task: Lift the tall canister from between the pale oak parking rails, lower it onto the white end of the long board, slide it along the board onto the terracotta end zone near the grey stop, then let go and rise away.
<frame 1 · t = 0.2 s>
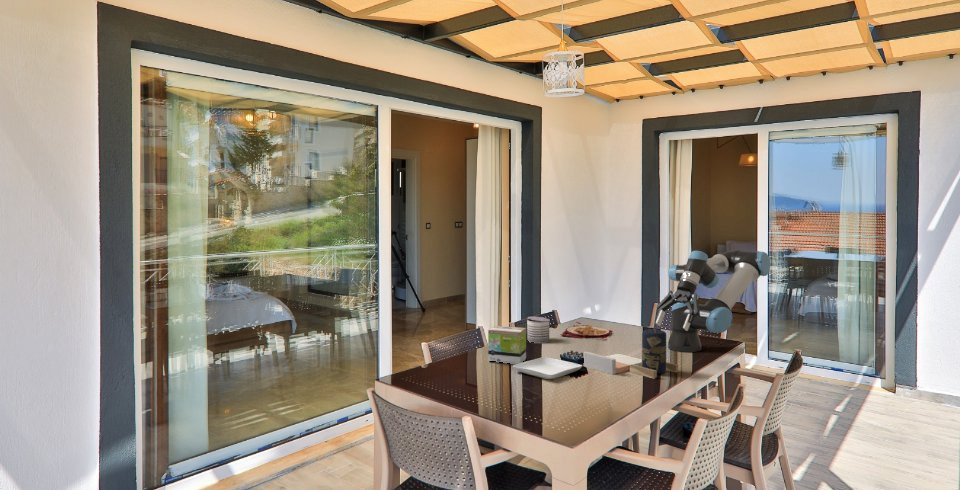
hand: (671, 326, 244), 16 cm above the table, tool tilted 35°, fingers open, 13 cm apart
plate with food: (589, 335, 309), on the table
canister: (653, 372, 234), on the table
parking rails: (653, 371, 234), on the table
tea box: (507, 361, 254), on the table
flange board: (615, 365, 244), on the table
salad plate: (547, 373, 236), on the table
can: (538, 341, 293), on the table
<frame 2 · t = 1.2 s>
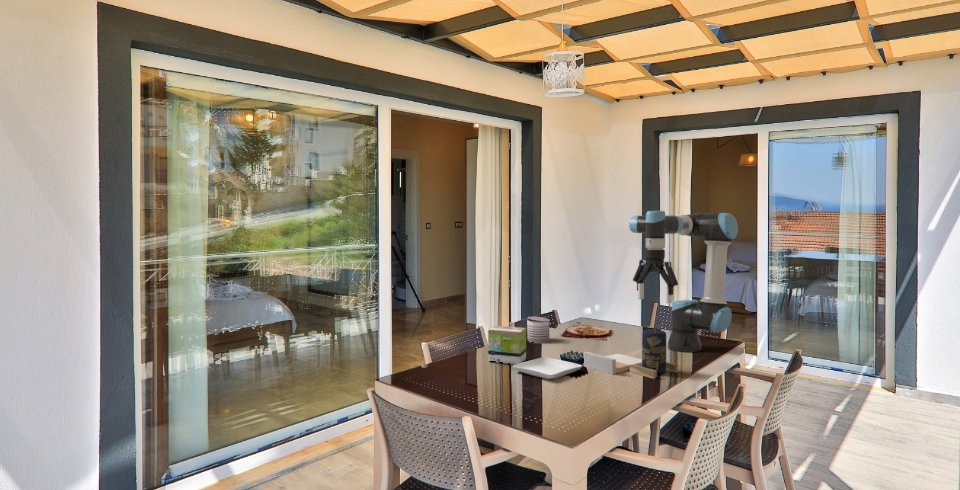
hand: (654, 301, 233), 29 cm above the table, tool pointing down, fingers open, 13 cm apart
nothing on the table moved.
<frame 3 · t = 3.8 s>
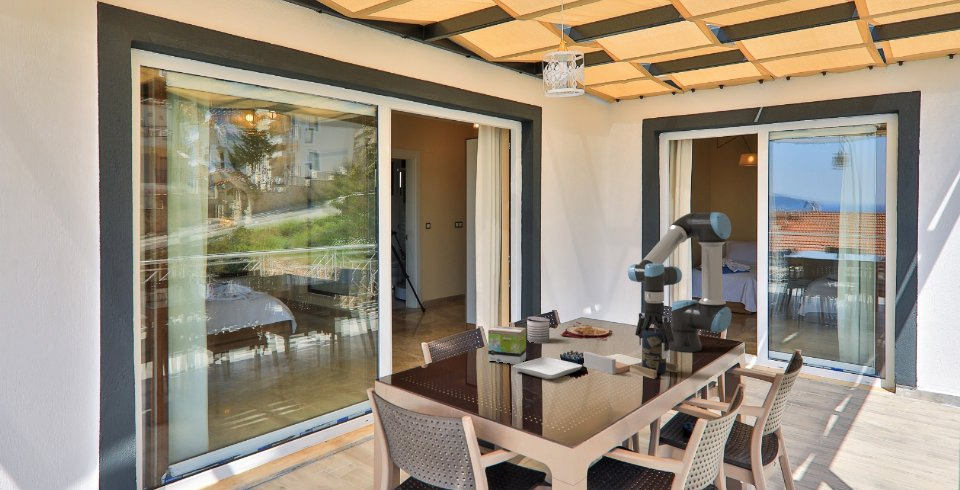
hand: (653, 355, 234), 7 cm above the table, tool pointing down, fingers closed on canister, 10 cm apart
canister: (653, 372, 234), on the table, touching gripper
everything else where it was.
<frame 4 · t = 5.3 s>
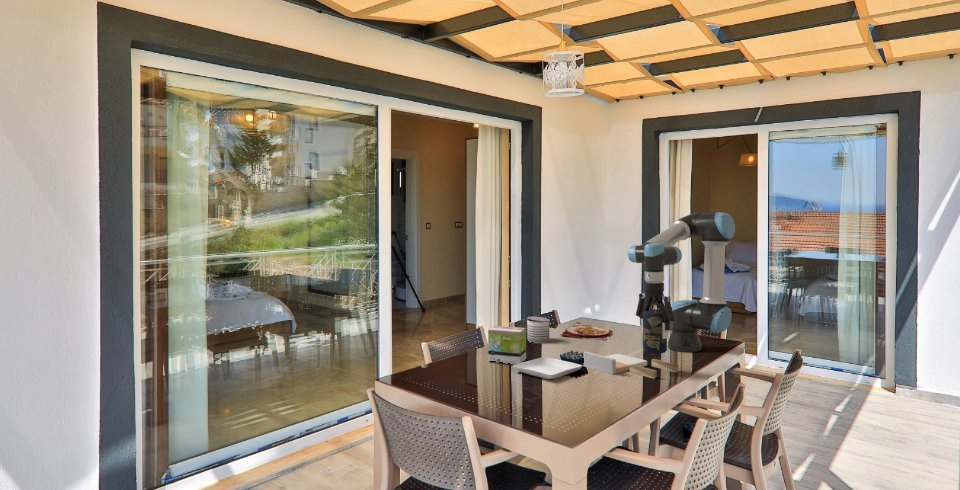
hand: (654, 336, 233), 15 cm above the table, tool pointing down, fingers closed on canister, 10 cm apart
canister: (654, 352, 234), point 8 cm above the table, touching gripper
everything else where it was.
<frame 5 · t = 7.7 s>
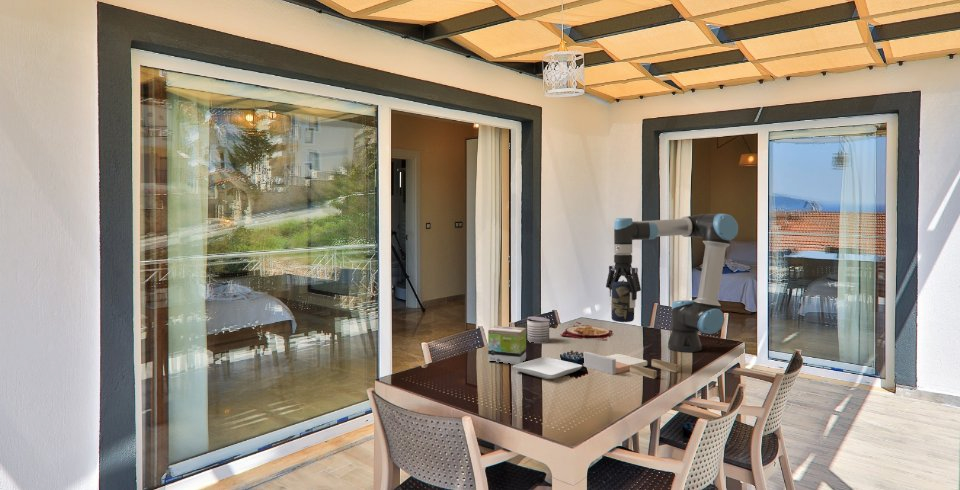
hand: (622, 305, 246), 25 cm above the table, tool pointing down, fingers closed on canister, 10 cm apart
canister: (622, 321, 246), point 18 cm above the table, touching gripper
everything else where it was.
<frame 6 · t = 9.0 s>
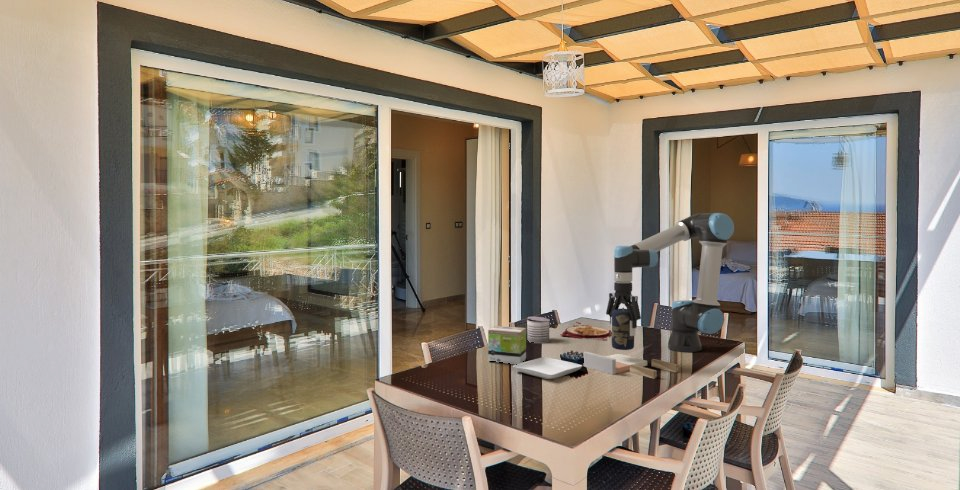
hand: (623, 333, 246), 13 cm above the table, tool pointing down, fingers closed on canister, 10 cm apart
canister: (622, 349, 247), point 6 cm above the table, touching gripper
everything else where it was.
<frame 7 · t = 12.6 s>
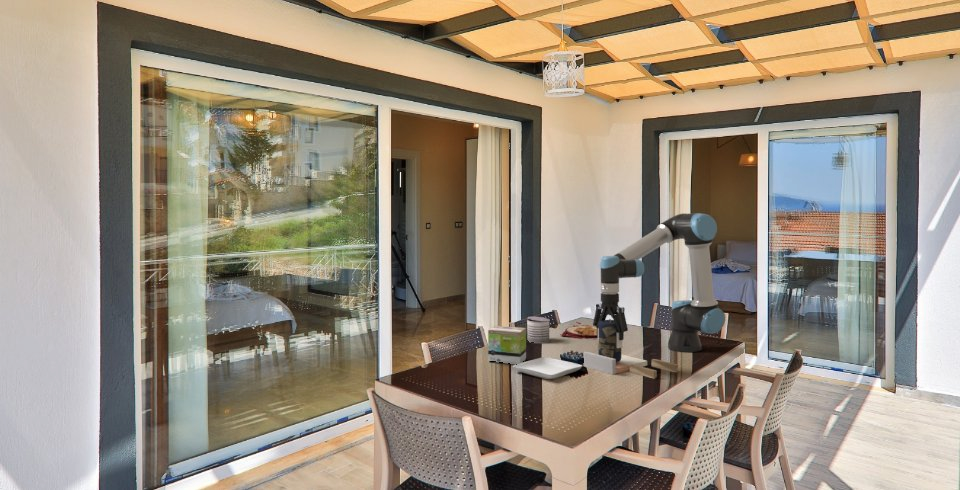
hand: (609, 345, 242), 9 cm above the table, tool pointing down, fingers closed on canister, 10 cm apart
canister: (609, 361, 242), point 2 cm above the table, touching gripper
everything else where it was.
when the fingers open (9 cm above the table, at t = 12.9 s): canister stays where it is, resting on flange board.
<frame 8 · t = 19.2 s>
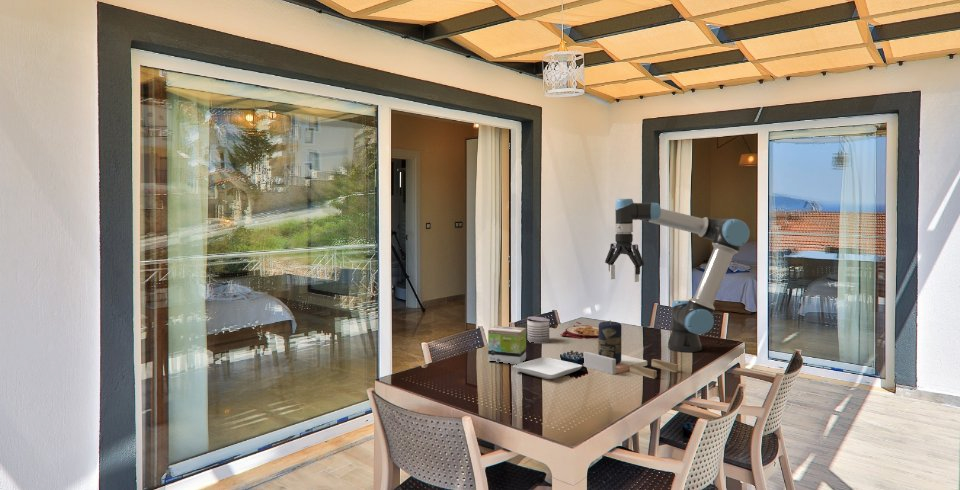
hand: (624, 280, 257), 35 cm above the table, tool pointing down, fingers open, 13 cm apart
canister: (609, 363, 242), point 2 cm above the table, touching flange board
everything else where it was.
at the end: canister inside the target area on the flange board (0.0 cm from its centre), point 1.8 cm above the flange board's base; canister tilted 0°; the gripper is holding nothing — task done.
